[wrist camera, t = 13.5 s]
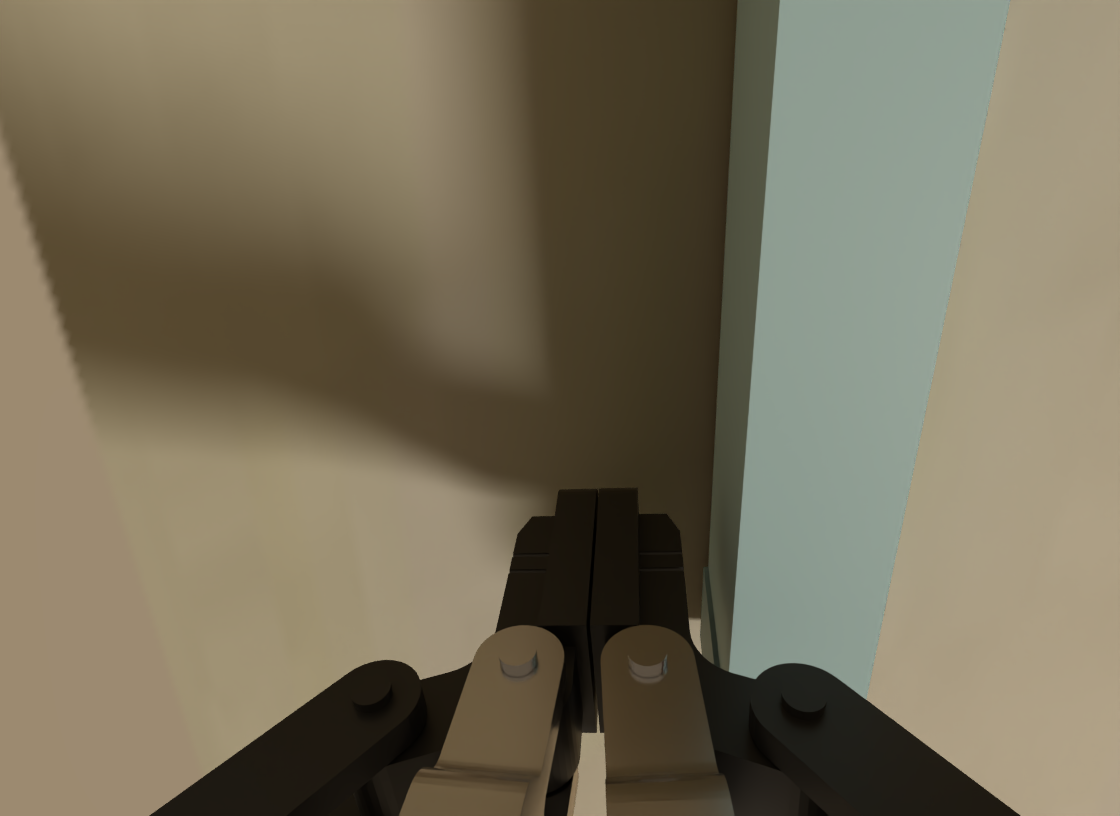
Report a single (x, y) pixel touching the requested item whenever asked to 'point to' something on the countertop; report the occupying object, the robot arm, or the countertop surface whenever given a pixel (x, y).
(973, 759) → the countertop surface
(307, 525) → the countertop surface
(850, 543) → the bar
